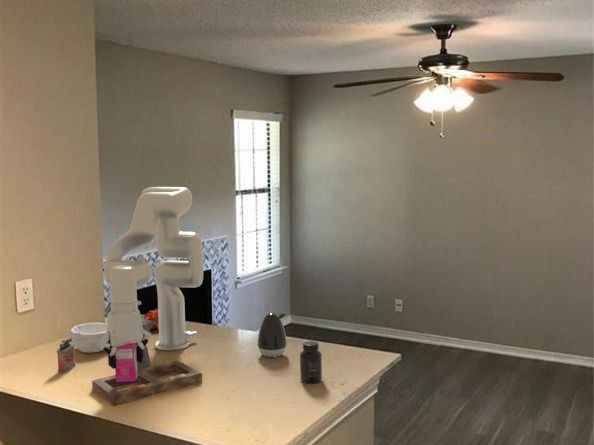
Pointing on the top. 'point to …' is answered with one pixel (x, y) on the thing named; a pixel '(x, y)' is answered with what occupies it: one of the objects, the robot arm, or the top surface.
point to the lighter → (66, 356)
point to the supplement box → (126, 364)
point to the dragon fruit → (153, 318)
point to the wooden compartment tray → (147, 382)
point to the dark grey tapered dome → (272, 336)
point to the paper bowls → (88, 336)
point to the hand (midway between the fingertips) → (126, 364)
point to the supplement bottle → (310, 363)
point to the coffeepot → (146, 360)
